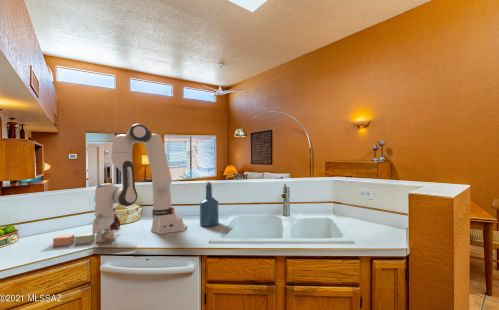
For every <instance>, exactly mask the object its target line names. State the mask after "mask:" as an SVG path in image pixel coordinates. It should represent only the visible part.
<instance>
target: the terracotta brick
mask: <svg viewBox="0 0 499 310" xmlns="http://www.w3.org/2000/svg"><path fill="white" fill-rule="evenodd" d="M74 238H75V234H66V235H65V234H64V235H56V236H55V237H53V239H52V240H53V241H52V242H53V243H52V244H53V246H59V245H70V244H72V243H73V242H74Z"/></svg>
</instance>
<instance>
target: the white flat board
mask: <svg viewBox="0 0 499 310" xmlns="http://www.w3.org/2000/svg"><path fill="white" fill-rule="evenodd" d="M120 236H122V233H114V239H113V240H112V241H101V242H96V236H95V240H94V241H93V242H91V243H80V244H75V237H74V242H73V243H72V244H70V245H59V246H53V243H52V244H51V245H49V246H47V247H46V248H44V249H42V250H40V252H50V251H61V250H72V249H81V248H82V249H83V248H89V247H91V248H92V247H102V246H103V247H104V246H110V245H112V244H114V243H115V242H116V240H117V239H118V238H119V237H120Z"/></svg>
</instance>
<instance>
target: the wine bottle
mask: <svg viewBox="0 0 499 310" xmlns="http://www.w3.org/2000/svg"><path fill="white" fill-rule="evenodd" d="M212 191H213V187H212V183H211V181H207V182H206V184H205V198H204V199H203V200H201V201H200V202H199V226H201V227H204V228H209V227H210V228H211V227H216V226H217V225H219V221H220V220H219V216H220V215H219V201H218V200H217V199H216V198H214V197H213V192H212Z"/></svg>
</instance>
